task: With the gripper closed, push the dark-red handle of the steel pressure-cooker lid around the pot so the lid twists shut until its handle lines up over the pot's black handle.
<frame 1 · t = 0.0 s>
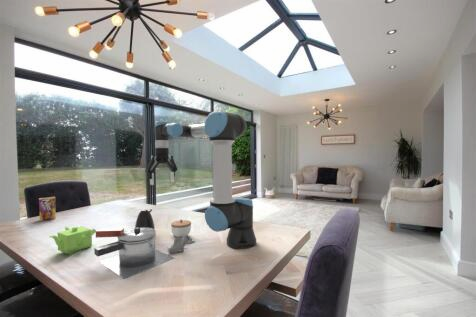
hand: (162, 183, 143), 28 cm above the table, tool pointing down, fingers open, 13 cm apart
kettle: (73, 251, 114), on the table
lid: (126, 232, 101), point 13 cm above the table, hinge at -45.0°
candy box: (47, 219, 169), on the table
trivet: (137, 262, 102), on the table
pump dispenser: (145, 237, 132), on the table
pot: (137, 259, 102), resting on trivet
goldfish: (182, 248, 118), on the table
lidded jar: (181, 237, 133), on the table
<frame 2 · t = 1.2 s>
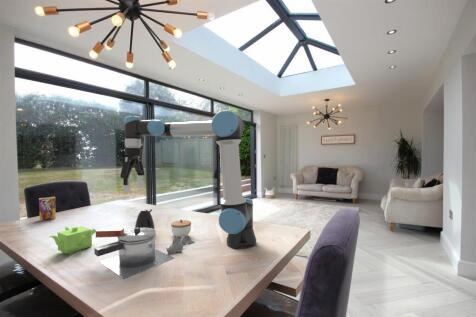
hand: (133, 189, 121), 28 cm above the table, tool pointing down, fingers open, 13 cm apart
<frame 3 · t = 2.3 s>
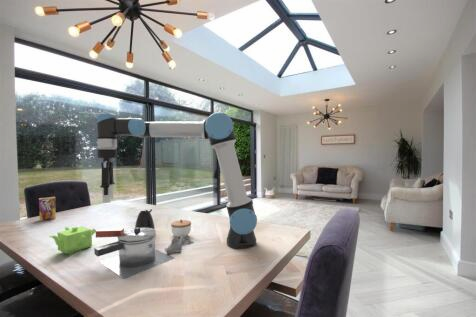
hand: (108, 200, 106), 25 cm above the table, tool pointing down, fingers open, 8 cm apart
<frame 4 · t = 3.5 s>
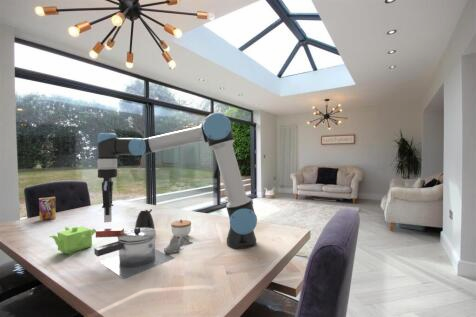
hand: (107, 221, 107), 16 cm above the table, tool pointing down, fingers closed
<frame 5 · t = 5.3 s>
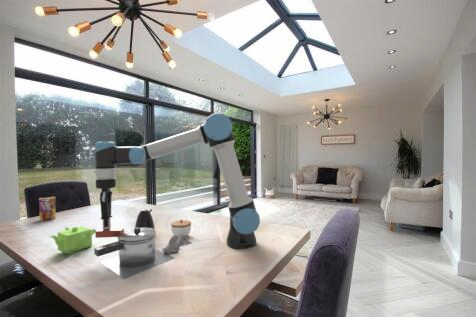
hand: (106, 233, 103), 12 cm above the table, tool pointing down, fingers closed
lid: (126, 232, 101), point 13 cm above the table, hinge at -44.2°, touching gripper
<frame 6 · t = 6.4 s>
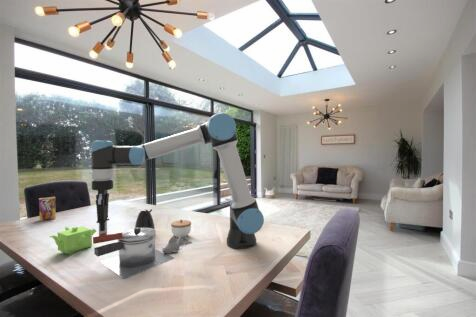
hand: (103, 237, 97), 12 cm above the table, tool pointing down, fingers closed
lid: (126, 233, 99), point 13 cm above the table, hinge at -17.7°, touching gripper
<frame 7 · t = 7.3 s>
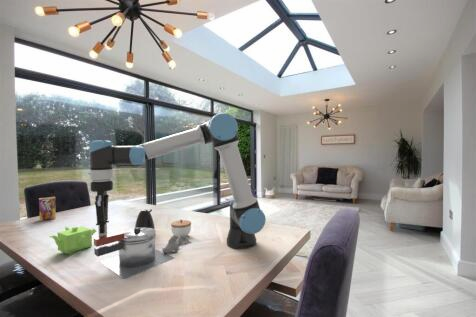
hand: (103, 240, 94), 12 cm above the table, tool pointing down, fingers closed
lid: (126, 234, 98), point 13 cm above the table, hinge at -3.0°, touching gripper
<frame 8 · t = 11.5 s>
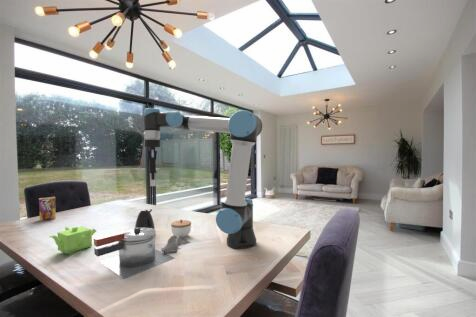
hand: (153, 185, 123), 29 cm above the table, tool pointing down, fingers closed
lid: (126, 234, 98), point 13 cm above the table, hinge at -2.3°
at the end: lid at -2° (first picture: -45°) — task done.
